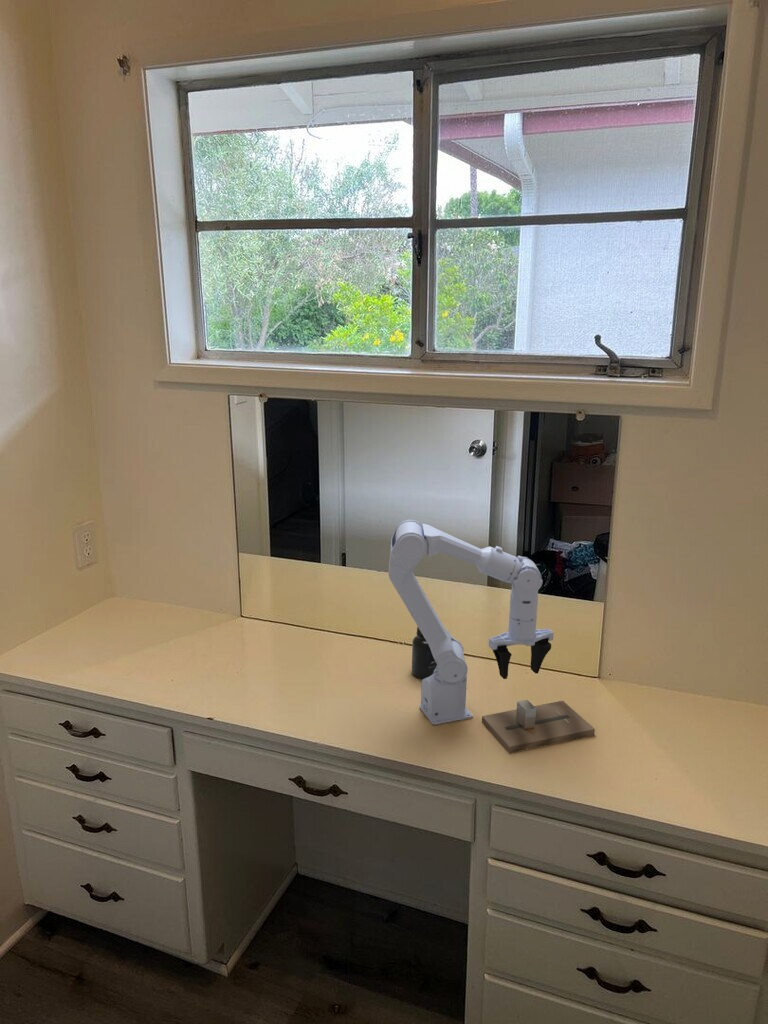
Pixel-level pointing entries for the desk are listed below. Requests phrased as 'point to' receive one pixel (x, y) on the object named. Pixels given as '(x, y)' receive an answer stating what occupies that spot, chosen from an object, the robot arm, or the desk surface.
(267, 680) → the desk surface
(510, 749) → the console board
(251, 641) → the desk surface
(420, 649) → the supplement bottle
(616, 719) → the desk surface
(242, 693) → the desk surface
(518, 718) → the fader tab
